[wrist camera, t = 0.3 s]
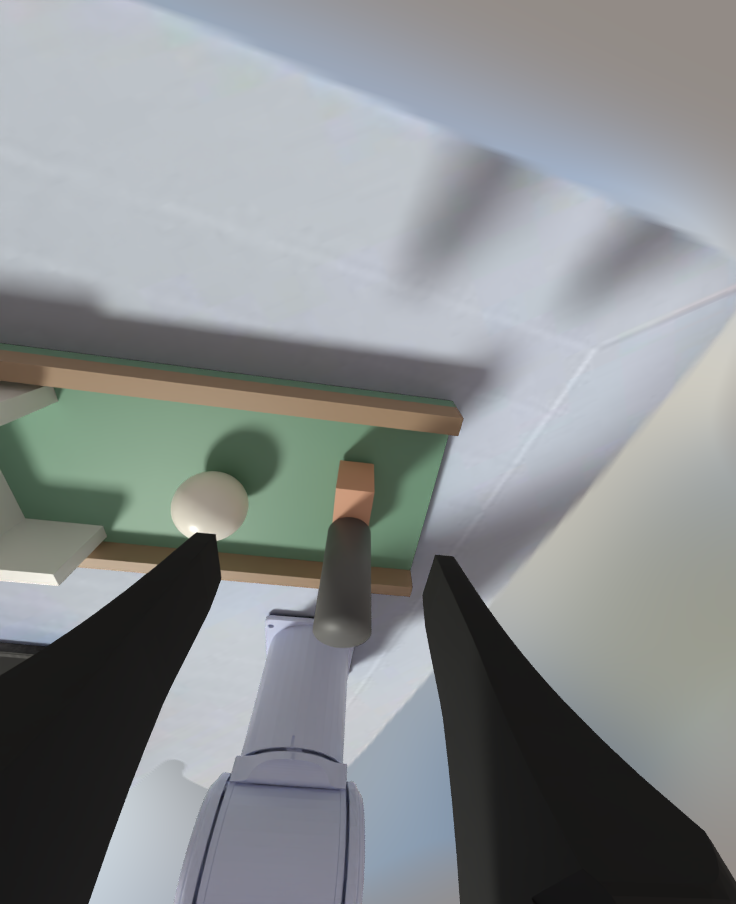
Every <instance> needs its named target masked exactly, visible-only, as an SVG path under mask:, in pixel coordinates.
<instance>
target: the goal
mask: <svg viewBox="0 0 736 904" xmlns="http://www.w3.org/2000/svg"><path fill="white" fill-rule="evenodd" d="M56 402H58V399H57V396H56V394H55V391H54V388H53V387H49V386H40V385H32V384H24V383H16V382H7V381H0V426H2V425H4V424H7V423H9V422H11V421H14V420H16V419H18V418H21V417H23V416H25V415H28V414H30V413H32V412H35V411H37V410H39V409H42V408H44V407H46V406H49V405H51V404H53V403H56ZM106 537H107V535H106V533H105V530H104V527H103V526H99V525H89V524H78V523H68V522H58V521H47V520H37V519H27V518H25V517H24V515H23V513H22V511H21V509H20V507H19V505H18V503H17V501H16V499H15V497H14V495H13V493H12V491H11V489H10V487H9V485H8V483H7V482H6V480H5V478H4V476H3V474H2V472H1V470H0V581H7V582H19V583H31V584H43V585H54V586H59V585H60V584H61V583H62V582H63V581H64V580H65V579H66V578H67V577H68V576H69V575H70V574H71V573H72V572H73V571H74V570H75V569H76V568H77V567H78V566H79V565H80V564H81V563H82V562H83V561H84V560H85V559H86V558H87V557H88V556H89V555H90V554H91V553H92V552H93V551H94V549H95V548H96V547H97V546H98V545H99V544H100V543H101V542H102V541H103V540H104V539H105V538H106Z"/></svg>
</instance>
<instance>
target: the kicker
mask: <svg viewBox="0 0 736 904" xmlns="http://www.w3.org/2000/svg"><path fill="white" fill-rule="evenodd" d="M374 493H375V491H374V464H370V463H361V462H352V461H343V460H340V464H339V471H338V477H337V484H336V492H335V502H334V511H333V521H332V524H331V525H330V526H329V529H328V534H327V540H326V546H325V553H324V559H323V566H322V572H321V578H320V585H319V591H318V597H317V604H316V610H315V616H314V623H313V634H314V636H315V637H316V639H317V640H319V641H320V642H321V643H323V644H325V645H328V646H331V647H336V648H351V647H355V646H358V645H361V644H363V643H364V642H366V641H367V640H368V639H369V637H370V635H371V531H370V528H369V521H370V516H371V510H372V504H373V498H374Z"/></svg>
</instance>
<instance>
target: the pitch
mask: <svg viewBox="0 0 736 904" xmlns="http://www.w3.org/2000/svg"><path fill="white" fill-rule="evenodd" d="M0 381H7V382H16V383H24V384H32V385H40V386H49V387H53V388H54V391H55V394H56V396H57V399H58V402H56V403H53V404H51V405H49V406H46V407H44V408H42V409H39V410H37V411H35V412H32V413H30V414H28V415H25V416H23V417H21V418H18V419H16V420H14V421H11V422H9V423H7V424H4V425H2V426H0V470H1V472H2V474H3V476H4V478H5V480H6V482H7V483H8V485H9V487H10V489H11V491H12V493H13V495H14V497H15V499H16V501H17V503H18V505H19V507H20V509H21V511H22V513H23V515H24V517H25V518H27V519H37V520H47V521H58V522H68V523H78V524H89V525H99V526H103V527H104V530H105V533H106V535H107V537H106V538H105V539H104V540H103V541H102V542H101V543H100V544H99V545H98V546H97V547H96V548H95V549H94V551H93V552H92V553H91V554H90V555H89V556H88V557H87V558H86V559H85V560H84V561H83V562H82V563H81V564H80V565H79V566H78V567H80V568H92V569H103V570H114V571H125V572H137V573H148V572H149V571H151V570H152V569H153V568H154V567H155V566H157V565H158V564H159V563H160V562H161V561H163V560H164V559H165V558H166V557H167V556H169V555H170V554H171V553H172V552H173V551H174V550H176V549H177V548H178V547H179V546H180V545H182V544H183V543H184V542H185V541H186V540H187V539H189V538H188V537H186V536H185V535H183V534H182V533H181V532H180V531H179V530H178V529H177V528H176V526H175V524H174V522H173V520H172V516H171V502H172V498H173V496H174V494H175V492H176V490H177V489H178V488H179V486H180V485H181V484H182V483H183V482H184V481H185V480H187V479H188V478H190V477H191V476H194V475H196V474H198V473H202V472H207V471H218V472H223V473H226V474H229V475H231V476H232V477H234V478H236V479H237V480H238V481H239V482H240V483H241V484H242V485H243V487H244V489H245V490H246V493H247V496H248V502H249V507H248V512H247V515H246V518H245V520H244V522H243V523H242V525H241V526H240V527H239V528H238V530H237V531H235V532H234V533H233V534H232V535H230V536H228V537H226V538H224V539H222V540H219V541H217V547H218V555H219V562H220V570H221V577H222V578H221V580H227V581H238V582H249V583H261V584H272V585H283V586H294V587H306V588H317V589H319V585H320V578H321V572H322V566H323V559H324V553H325V546H326V540H327V534H328V529H329V526H330V525H331V524H332V521H333V511H334V502H335V492H336V484H337V477H338V471H339V464H340V460H343V461H352V462H361V463H370V464H374V491H375V493H374V498H373V504H372V510H371V516H370V521H369V528H370V531H371V593H373V594H385V595H396V596H407V597H410V595H411V591H412V588H413V587H412V579H411V572H410V569H411V566H412V562H413V559H414V555H415V552H416V548H417V545H418V541H419V538H420V534H421V531H422V527H423V524H424V520H425V517H426V513H427V510H428V506H429V503H430V499H431V496H432V492H433V489H434V485H435V481H436V478H437V474H438V471H439V467H440V464H441V460H442V457H443V453H444V450H445V446H446V443H447V439H448V436H449V435H453V436H458V435H459V432H460V429H461V425H462V422H463V417H462V415H461V414H460V412H459V411H458V409H457V407H456V406H455V404H454V403H453V401H449V400H441V399H433V398H425V397H417V396H410V395H402V394H394V393H386V392H378V391H370V390H363V389H355V388H347V387H339V386H331V385H324V384H316V383H308V382H300V381H292V380H284V379H277V378H269V377H261V376H253V375H245V374H237V373H230V372H222V371H214V370H206V369H198V368H191V367H183V366H175V365H167V364H159V363H151V362H144V361H136V360H128V359H120V358H112V357H104V356H97V355H89V354H81V353H73V352H65V351H58V350H50V349H42V348H34V347H26V346H18V345H11V344H3V343H0Z"/></svg>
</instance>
